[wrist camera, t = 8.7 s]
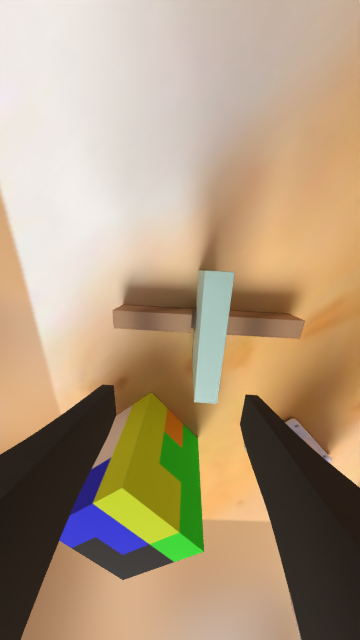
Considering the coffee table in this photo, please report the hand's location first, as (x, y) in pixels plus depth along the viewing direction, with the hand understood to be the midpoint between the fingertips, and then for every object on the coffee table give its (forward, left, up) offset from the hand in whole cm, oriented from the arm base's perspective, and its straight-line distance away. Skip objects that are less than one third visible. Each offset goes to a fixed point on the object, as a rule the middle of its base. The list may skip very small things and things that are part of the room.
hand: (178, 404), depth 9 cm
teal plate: (0, -3, -10) cm, 11 cm away
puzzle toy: (-8, +14, -11) cm, 19 cm away
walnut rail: (0, -3, -10) cm, 11 cm away
